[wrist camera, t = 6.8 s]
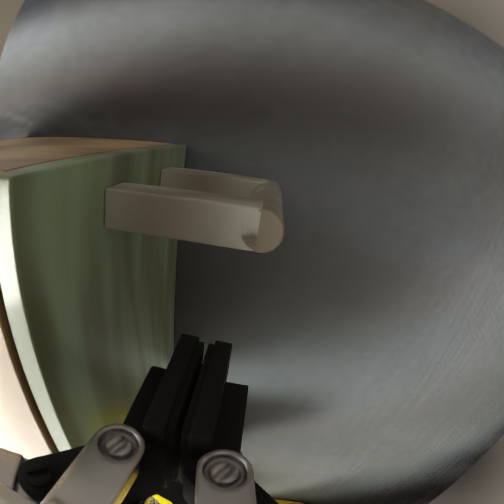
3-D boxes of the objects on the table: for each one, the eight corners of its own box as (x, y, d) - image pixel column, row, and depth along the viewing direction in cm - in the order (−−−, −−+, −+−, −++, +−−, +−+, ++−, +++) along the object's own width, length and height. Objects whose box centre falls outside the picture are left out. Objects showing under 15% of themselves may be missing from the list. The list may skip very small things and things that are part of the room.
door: (285, 158, 16) (308, 212, 4) (246, 380, 21) (222, 547, 9) (172, 143, 16) (-14, 175, 4) (163, 364, 21) (97, 515, 9)
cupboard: (172, 143, 16) (-20, 176, 4) (160, 362, 21) (91, 515, 9) (24, 137, 16) (-136, 172, 4) (38, 324, 21) (-56, 424, 10)
